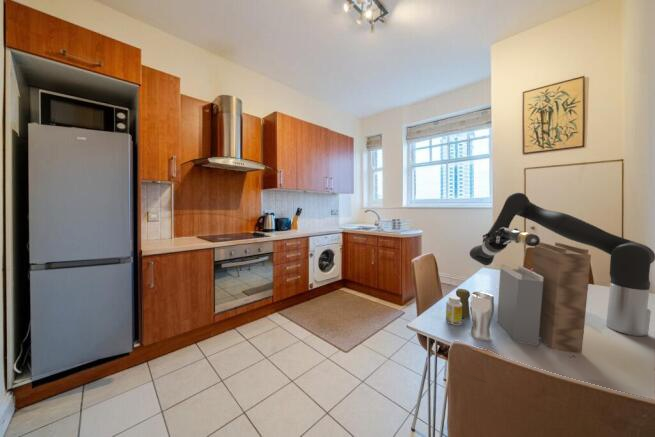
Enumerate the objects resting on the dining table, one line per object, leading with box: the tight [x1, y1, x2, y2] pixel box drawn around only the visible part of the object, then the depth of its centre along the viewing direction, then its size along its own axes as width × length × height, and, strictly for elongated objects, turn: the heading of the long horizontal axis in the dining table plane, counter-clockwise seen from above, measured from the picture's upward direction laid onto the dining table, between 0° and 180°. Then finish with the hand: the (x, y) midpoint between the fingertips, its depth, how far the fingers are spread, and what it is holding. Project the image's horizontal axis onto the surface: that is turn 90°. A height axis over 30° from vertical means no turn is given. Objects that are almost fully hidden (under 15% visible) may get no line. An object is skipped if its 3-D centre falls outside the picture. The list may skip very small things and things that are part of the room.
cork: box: [455, 288, 471, 319], centre depth 102 cm, size 6×6×11 cm
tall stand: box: [532, 241, 592, 354], centre depth 84 cm, size 8×14×34 cm, turn 165°
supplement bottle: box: [445, 295, 463, 326], centre depth 96 cm, size 6×6×10 cm
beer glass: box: [470, 291, 495, 341], centre depth 86 cm, size 7×7×15 cm
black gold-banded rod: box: [500, 227, 541, 247], centre depth 90 cm, size 23×4×4 cm, turn 165°
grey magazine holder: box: [496, 264, 543, 346], centre depth 88 cm, size 7×14×24 cm, turn 165°
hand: (510, 230), depth 96 cm, fingers closed on black gold-banded rod, 4 cm apart
